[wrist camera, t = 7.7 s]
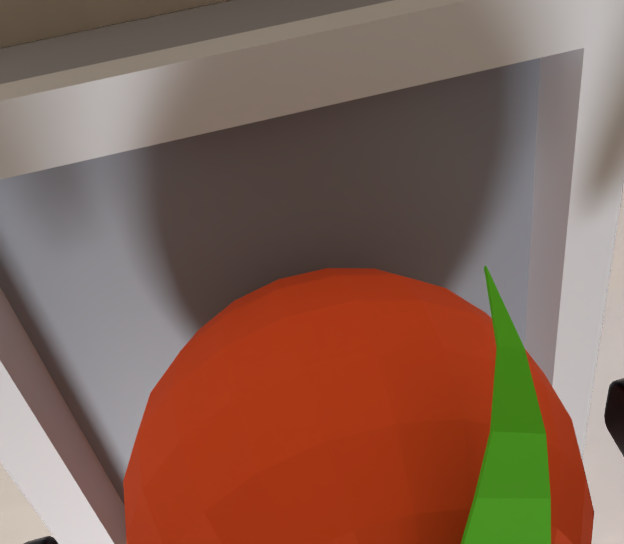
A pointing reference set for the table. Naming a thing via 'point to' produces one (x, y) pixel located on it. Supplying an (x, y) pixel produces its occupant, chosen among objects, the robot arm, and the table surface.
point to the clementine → (356, 425)
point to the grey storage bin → (288, 197)
